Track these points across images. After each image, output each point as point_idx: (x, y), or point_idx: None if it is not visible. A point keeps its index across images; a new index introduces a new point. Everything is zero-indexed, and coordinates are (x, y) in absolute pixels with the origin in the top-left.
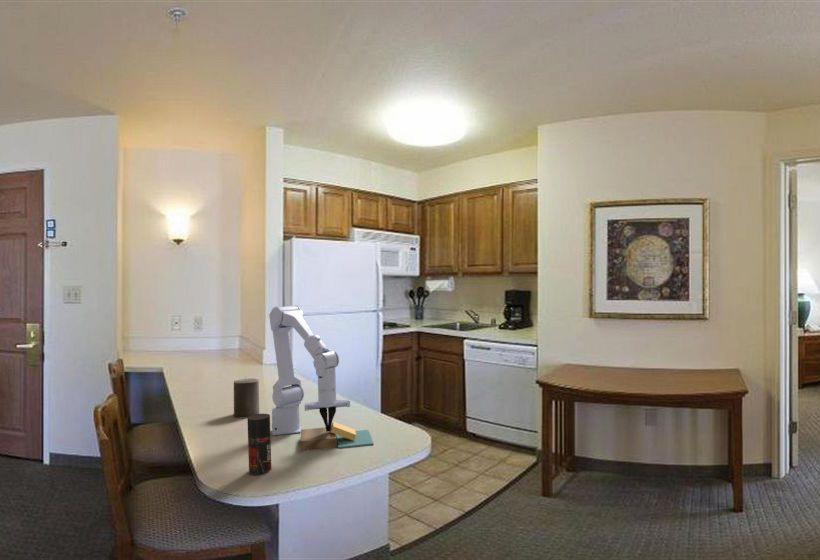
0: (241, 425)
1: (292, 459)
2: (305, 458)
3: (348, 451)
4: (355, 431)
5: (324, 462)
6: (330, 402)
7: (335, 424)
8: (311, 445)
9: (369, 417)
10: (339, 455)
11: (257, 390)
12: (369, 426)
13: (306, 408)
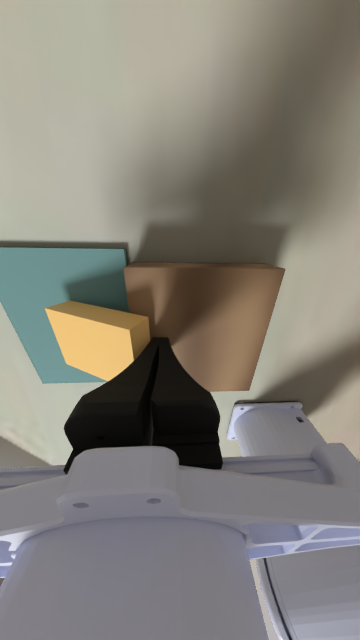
0: None
1: (313, 172)
2: (262, 164)
3: (76, 195)
4: (82, 378)
5: (184, 42)
6: (60, 573)
7: (124, 365)
8: (229, 265)
9: (67, 453)
10: (111, 147)
11: None
12: (52, 408)
13: (347, 467)
